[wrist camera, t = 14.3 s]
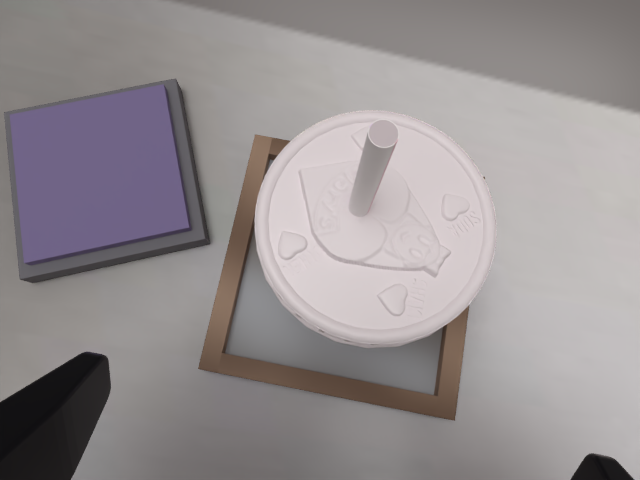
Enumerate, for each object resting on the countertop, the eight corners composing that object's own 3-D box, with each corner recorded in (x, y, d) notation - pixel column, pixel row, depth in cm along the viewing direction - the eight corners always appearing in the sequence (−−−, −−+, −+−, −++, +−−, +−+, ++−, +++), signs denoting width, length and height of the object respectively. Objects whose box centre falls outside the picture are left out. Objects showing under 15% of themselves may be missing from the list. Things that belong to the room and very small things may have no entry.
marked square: (447, 417, 22) (454, 420, 20) (203, 368, 22) (198, 368, 21) (477, 185, 24) (484, 177, 23) (258, 144, 24) (255, 134, 23)
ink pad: (209, 243, 23) (202, 236, 22) (32, 282, 23) (13, 277, 21) (181, 89, 25) (172, 72, 24) (16, 122, 25) (-3, 107, 23)
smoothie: (327, 185, 23) (357, -63, 10) (446, 262, 23) (654, 108, 9) (245, 300, 22) (148, 195, 9) (369, 385, 21) (479, 420, 8)
